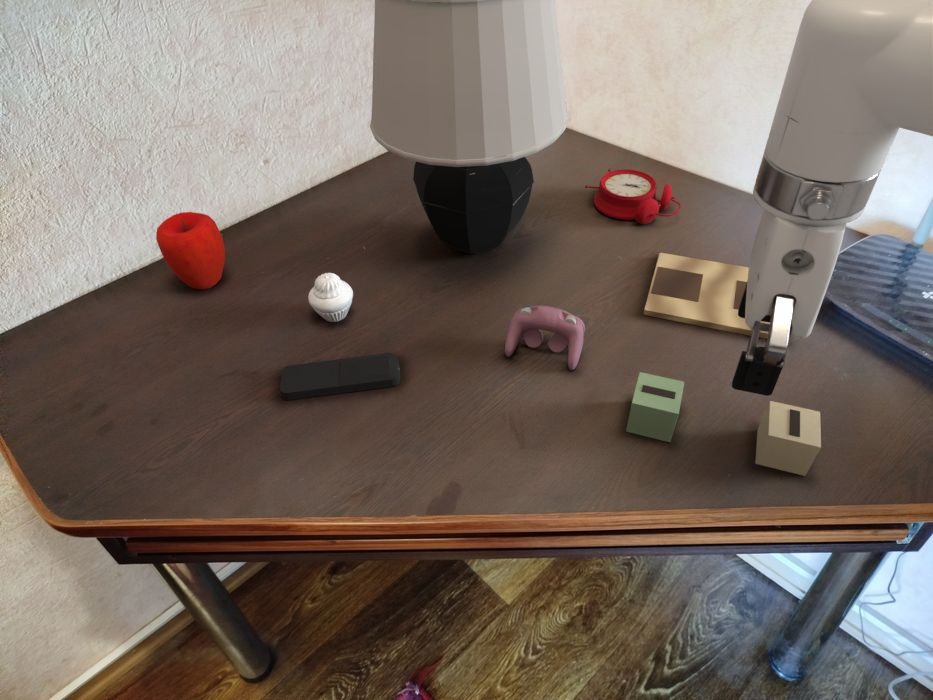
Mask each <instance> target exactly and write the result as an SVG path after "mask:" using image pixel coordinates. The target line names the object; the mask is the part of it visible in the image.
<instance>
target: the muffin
mask: <svg viewBox="0 0 933 700" xmlns="http://www.w3.org/2000/svg"><path fill="white" fill-rule="evenodd" d="M353 297H354V291H353V288H352V287H351V285H349V283H347V282H346V281H344V280H342V279H341V278H340V276H339V275H337V274H335V273H333V272H325V273H321V275H318V276H317V278H315V280H314V283H313V287H311V289H310V290H309V292H308V296H307V299H308V304H309V305H310V307H311V308H312V309H313V310H314V311H315V312H316V313H317V314H318V315H319V316H320V317H321V318H323V319H324V320H325V321H326V322H330V323H336V322H337V323H338V322H340V321H342V320H344V319H345V318H346V317H347V315H348V312H349V311H350V309H351V306H352V303H353Z"/></svg>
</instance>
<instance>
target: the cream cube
mask: <svg viewBox="0 0 933 700" xmlns="http://www.w3.org/2000/svg"><path fill="white" fill-rule="evenodd" d="M821 429H822V427H821V412H820V411H818V410H814V409H809V408H805V407H801V406H796V405H791V404H786V403H782V402H778V401H773V400H769V402H768V405H767V407H766V409H765V411H764V414H763V415H762V418H761V421H760V422H759V425H758V428H757V431H756V432H757V433H756V447H755V449H756V450H755V462H754V463H755V465H758V466H764V467H767V468H772V469H776V470H779V471H783V472H787V473H792V474H796V475H800V476H803V477H806V475H807V473H808V472H809V470H810V469H811V466H812V464H813V463H814V461H815V460H816V457H817V455H818V454H819V452H820V450H821V449H822V436H821V435H822V432H821Z"/></svg>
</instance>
